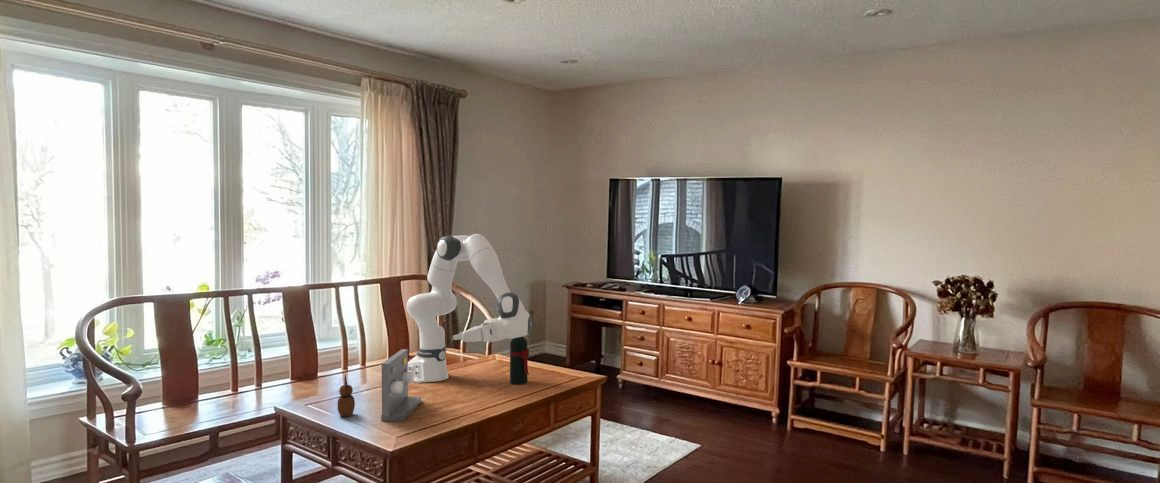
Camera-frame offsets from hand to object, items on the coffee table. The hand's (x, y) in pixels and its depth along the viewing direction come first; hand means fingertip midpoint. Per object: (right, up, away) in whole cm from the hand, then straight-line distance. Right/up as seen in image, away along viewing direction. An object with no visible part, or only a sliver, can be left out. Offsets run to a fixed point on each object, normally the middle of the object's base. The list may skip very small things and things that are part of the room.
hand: (456, 336), depth 257 cm
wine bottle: (+22, -26, +34) cm, 48 cm away
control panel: (-19, -27, -7) cm, 34 cm away
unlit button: (-19, -19, -14) cm, 31 cm away
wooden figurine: (-39, -28, -13) cm, 49 cm away
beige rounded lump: (-19, -18, 0) cm, 26 cm away
